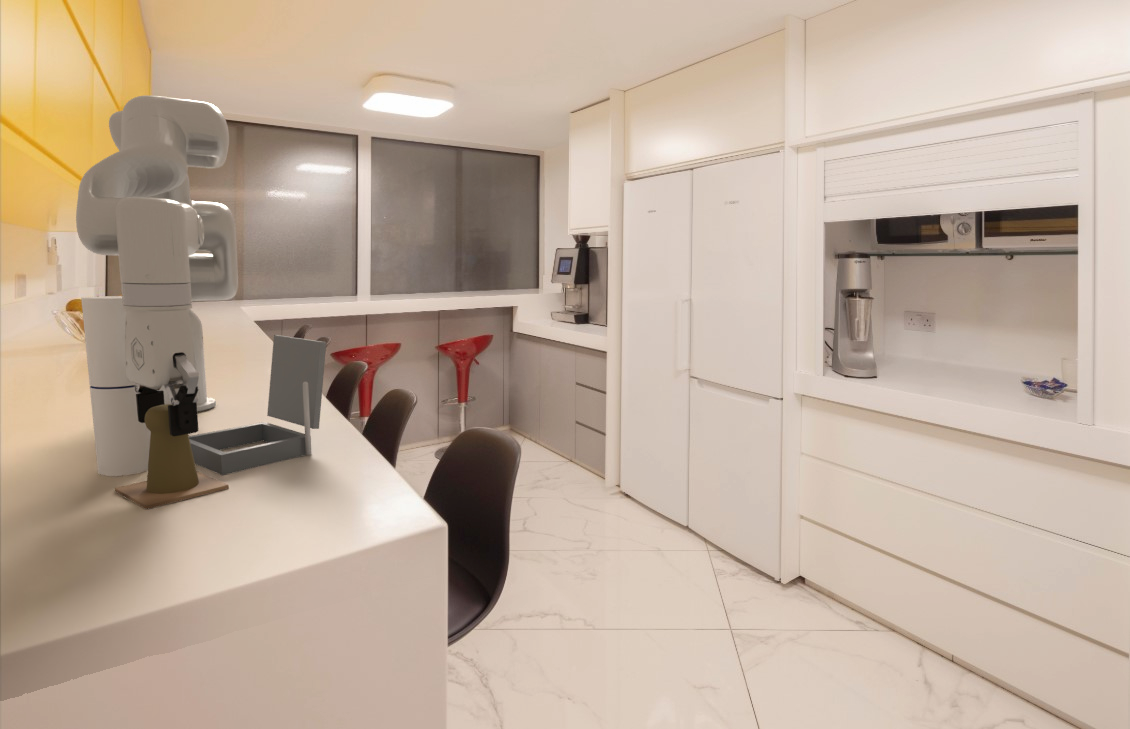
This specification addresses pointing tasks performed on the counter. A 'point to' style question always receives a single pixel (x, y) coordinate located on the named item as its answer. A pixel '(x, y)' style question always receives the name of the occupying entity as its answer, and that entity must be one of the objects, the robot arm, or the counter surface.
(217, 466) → the case
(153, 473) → the cork
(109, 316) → the cylindrical container
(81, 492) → the counter surface
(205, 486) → the walnut pad
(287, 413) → the case lid
